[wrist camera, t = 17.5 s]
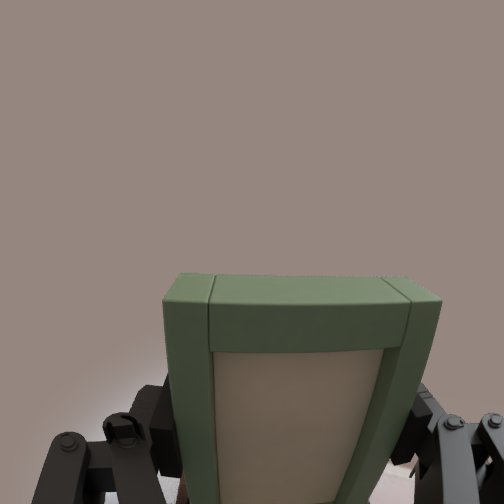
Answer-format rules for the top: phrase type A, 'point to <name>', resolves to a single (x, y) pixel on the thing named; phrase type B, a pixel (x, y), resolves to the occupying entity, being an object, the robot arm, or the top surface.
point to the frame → (293, 382)
